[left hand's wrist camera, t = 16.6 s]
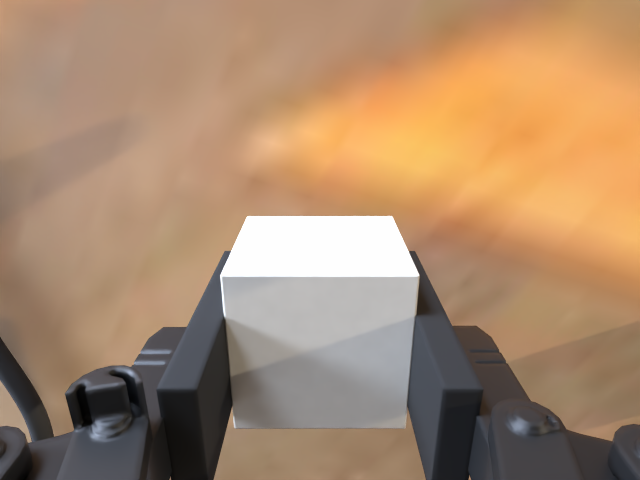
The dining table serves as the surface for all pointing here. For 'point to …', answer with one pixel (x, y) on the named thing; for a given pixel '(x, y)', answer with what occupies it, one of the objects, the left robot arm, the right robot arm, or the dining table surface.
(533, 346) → the dining table surface
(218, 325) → the left robot arm
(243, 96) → the dining table surface
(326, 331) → the block
